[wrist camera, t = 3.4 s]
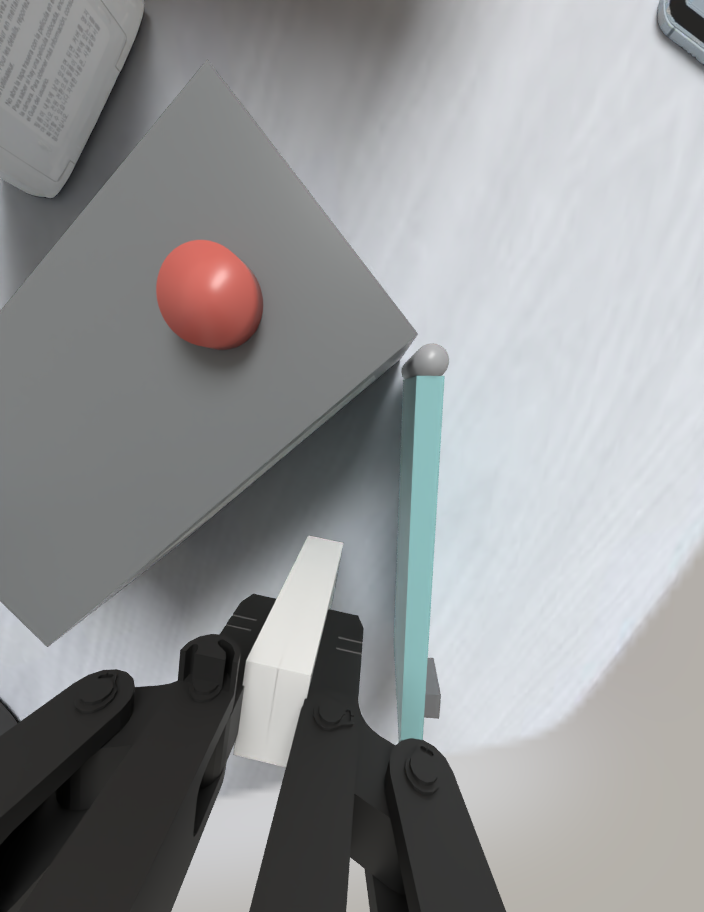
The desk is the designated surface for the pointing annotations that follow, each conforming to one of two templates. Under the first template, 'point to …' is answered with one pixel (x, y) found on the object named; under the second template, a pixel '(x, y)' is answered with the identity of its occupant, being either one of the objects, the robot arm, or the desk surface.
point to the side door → (417, 538)
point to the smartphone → (684, 24)
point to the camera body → (172, 355)
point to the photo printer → (57, 82)
